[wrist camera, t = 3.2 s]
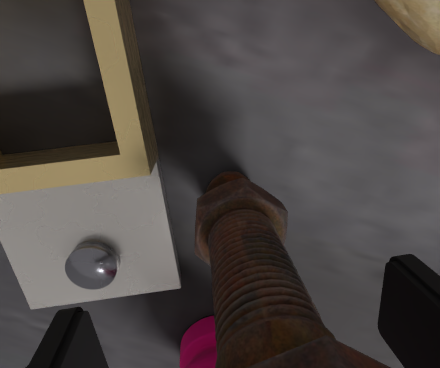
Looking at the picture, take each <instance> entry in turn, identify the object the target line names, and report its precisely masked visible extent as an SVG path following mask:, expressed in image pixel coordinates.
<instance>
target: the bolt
mask: <svg viewBox="0 0 440 368" xmlns="http://www.w3.org/2000/svg"><path fill="white" fill-rule="evenodd" d="M287 219H288V212H287V210H286V208H285V207H284V205H283V204H282V202H280V201H279V200H278V199H276V198H275V197H274V196H272V195H271V194H270V193H268V192H267V191H265V190H264V189H262V188H261V187H259V186H258V185H256V184H254V183H253V182H251V181H250V180H249V179H248V178H247V177H245V176H243V174H241V173H239V172H235V171H226V172H223V173H221V174H219V175H218V176H216V177H215V178H214V179H213V180H212V181H211V182H210V184H209V185H208V187H207V190H206V193H205V194H204V195H202V196H201V197H199V198H198V199H197V208H196V225H195V255H197V256H198V257H199V258H200V259H202V260H203V261H204V262H205V263H207V264H209V265H210V267H211V274H212V293H213V294H212V296H213V305H214V321H215V338H216V349H217V360H216V364H215V368H390V367H388V366H386V365H384V364H382V363H380V362H378V361H376V360H374V359H373V358H371V357H369V356H367V355H365V354H363V353H361V352H359V351H357V350H355V349H353V348H351V347H349V346H347V345H345V344H343V343H341V342H339V341H337V340H336V339H335V337H334V335H333V334H332V333H331V332H330V331H329V330H328V329H327V328H326V327H325V326H324V324H323V322H322V320H321V317H320V314H319V313H318V311H317V309H316V307H315V305H314V303H313V302H312V299H311V297H310V296H309V293H308V291H307V289H306V288H305V285H304V283H303V282H302V280H301V277H300V276H299V274H298V272H297V269H296V268H295V266H294V265H293V262H292V260H291V258H290V257H289V255H288V253H287V251H286V249H285V247H284V243H285V239H286V232H287Z"/></svg>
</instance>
